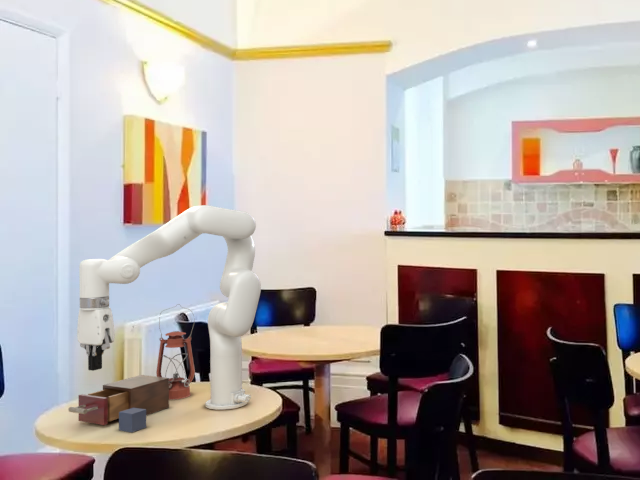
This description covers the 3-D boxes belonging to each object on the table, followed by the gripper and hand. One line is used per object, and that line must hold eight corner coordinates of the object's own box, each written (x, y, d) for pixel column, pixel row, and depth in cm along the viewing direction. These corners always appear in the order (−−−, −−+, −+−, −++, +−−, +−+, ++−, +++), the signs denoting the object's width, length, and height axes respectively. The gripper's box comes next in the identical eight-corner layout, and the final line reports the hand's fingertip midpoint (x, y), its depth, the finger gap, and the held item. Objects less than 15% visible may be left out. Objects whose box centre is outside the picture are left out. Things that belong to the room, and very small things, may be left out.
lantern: (183, 390, 232) (183, 301, 233) (197, 396, 225) (196, 304, 226) (155, 395, 226) (155, 304, 226) (168, 401, 218) (167, 307, 219)
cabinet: (130, 420, 198) (130, 388, 198) (102, 415, 203) (102, 384, 203) (169, 407, 211) (168, 378, 211) (141, 403, 216) (141, 374, 216)
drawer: (88, 430, 186) (88, 402, 186) (62, 425, 190) (63, 399, 191) (142, 412, 202) (142, 387, 202) (117, 408, 207) (117, 384, 207)
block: (146, 427, 190) (146, 409, 191) (131, 432, 186) (131, 414, 186) (133, 425, 193) (133, 407, 193) (118, 430, 188) (118, 412, 188)
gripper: (124, 302, 191) (125, 368, 191) (88, 300, 198) (88, 364, 198) (101, 306, 185) (102, 374, 184) (64, 304, 191) (65, 370, 191)
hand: (95, 369), depth 191 cm, fingers closed
